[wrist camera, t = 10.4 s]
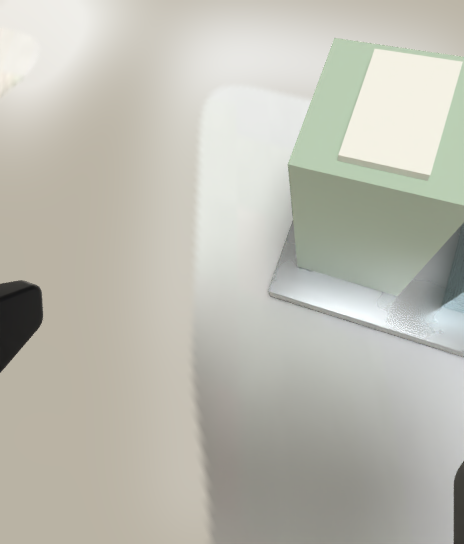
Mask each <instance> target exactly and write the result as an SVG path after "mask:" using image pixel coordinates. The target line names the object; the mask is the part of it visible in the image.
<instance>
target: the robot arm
mask: <svg viewBox="0 0 464 544" xmlns="http://www.w3.org/2000/svg"><path fill="white" fill-rule="evenodd" d="M42 320H43V307H42V292H41V289H40V287H39V286H37V285H35V284H32V283H29V282H27V281H22V280H21V281H14V282H9V283H2V284H0V372H1V371H2V370H3V369H4V368H5V367H6V366H7V364H8V363H9V362H10V361H11V360H12V359H13V357H14V356H15V355H16V354H17V353H18V352H19V350H20V349H21V348H22V347H23V346H24V345H25V343H26V342H27V341H28V340H29V339H30V338H31V336H32V335H33V334H34V333H35V332H36V331H37V329H38V328H39V327H40V325H41V323H42ZM454 544H464V461H463V463H462V464H461V466H460V467H459V469H458V471H457V473H456V475H455V479H454Z"/></svg>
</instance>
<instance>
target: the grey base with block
mask: <svg viewBox="0 0 464 544" xmlns="http://www.w3.org/2000/svg"><path fill="white" fill-rule="evenodd" d="M268 292H269V294H270V296H271V297H274V298H277V299H280V300H284V301H287V302H290V303H293V304H296V305H299V306H303V307H306V308H309V309H312V310H315V311H318V312H322V313H325V314H328V315H331V316H334V317H337V318H341V319H344V320H347V321H350V322H353V323H357V324H360V325H363V326H366V327H369V328H372V329H376V330H379V331H382V332H385V333H388V334H391V335H395V336H398V337H401V338H404V339H407V340H410V341H414V342H417V343H420V344H423V345H426V346H429V347H433V348H436V349H439V350H442V351H445V352H448V353H452V354H455V355H458V356H461V357H464V223H463V224H462V225H461V226H460V227H459V228H458V229H457V230H456V232H455V233H454V234H453V235H452V236H451V237H450V238H449V239H448V240H447V242H446V243H445V244H444V245H443V246H442V247H441V248H440V249H439V250H438V252H437V253H436V254H435V255H434V256H433V257H432V258H431V259H430V260H429V262H428V263H427V264H426V265H425V266H424V267H423V268H422V269H421V270H420V272H419V273H418V274H417V275H416V276H415V277H414V278H413V279H412V280H411V282H410V283H409V284H408V285H407V286H406V287H405V288H404V289H403V290H402V292H401V293H400V294H399V295H398V296H395V295H392V294H388V293H385V292H382V291H378V290H375V289H372V288H368V287H365V286H362V285H358V284H355V283H352V282H348V281H345V280H342V279H338V278H335V277H331V276H328V275H325V274H321V273H318V272H315V271H311V270H308V269H305V268H301V267H298V266H297V255H296V245H295V234H294V224H293V221H292V224H291V227H290V230H289V233H288V236H287V239H286V242H285V244H284V247H283V250H282V253H281V256H280V259H279V262H278V265H277V268H276V270H275V273H274V276H273V279H272V282H271V285H270V288H269V291H268Z"/></svg>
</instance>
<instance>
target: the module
mask: <svg viewBox="0 0 464 544" xmlns="http://www.w3.org/2000/svg"><path fill="white" fill-rule="evenodd" d="M288 171H289V182H290V192H291V203H292V213H293V224H294V234H295V245H296V255H297V266H298V267H301V268H305V269H308V270H311V271H315V272H318V273H321V274H325V275H328V276H331V277H335V278H338V279H342V280H345V281H348V282H352V283H355V284H358V285H362V286H365V287H368V288H372V289H375V290H378V291H382V292H385V293H388V294H392V295H395V296H398V295H399V294H400V293H401V292H402V290H403V289H404V288H405V287H406V286H407V285H408V284H409V283H410V282H411V280H412V279H413V278H414V277H415V276H416V275H417V274H418V273H419V272H420V270H421V269H422V268H423V267H424V266H425V265H426V264H427V263H428V262H429V260H430V259H431V258H432V257H433V256H434V255H435V254H436V253H437V252H438V250H439V249H440V248H441V247H442V246H443V245H444V244H445V243H446V242H447V240H448V239H449V238H450V237H451V236H452V235H453V234H454V233H455V232H456V230H457V229H458V228H459V227H460V226H461V225H462V224H463V223H464V57H461V56H454V55H447V54H439V53H432V52H426V51H420V50H413V49H406V48H398V47H391V46H385V45H379V44H372V43H365V42H358V41H351V40H344V39H337V38H334V41H333V44H332V46H331V49H330V52H329V54H328V57H327V60H326V62H325V65H324V68H323V71H322V74H321V76H320V79H319V82H318V84H317V87H316V90H315V92H314V95H313V98H312V100H311V103H310V106H309V109H308V111H307V114H306V117H305V119H304V122H303V125H302V127H301V130H300V133H299V136H298V138H297V141H296V144H295V146H294V149H293V152H292V155H291V157H290V160H289V163H288Z"/></svg>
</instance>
